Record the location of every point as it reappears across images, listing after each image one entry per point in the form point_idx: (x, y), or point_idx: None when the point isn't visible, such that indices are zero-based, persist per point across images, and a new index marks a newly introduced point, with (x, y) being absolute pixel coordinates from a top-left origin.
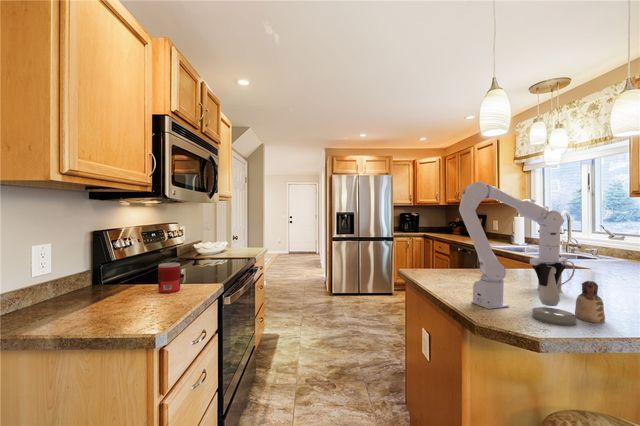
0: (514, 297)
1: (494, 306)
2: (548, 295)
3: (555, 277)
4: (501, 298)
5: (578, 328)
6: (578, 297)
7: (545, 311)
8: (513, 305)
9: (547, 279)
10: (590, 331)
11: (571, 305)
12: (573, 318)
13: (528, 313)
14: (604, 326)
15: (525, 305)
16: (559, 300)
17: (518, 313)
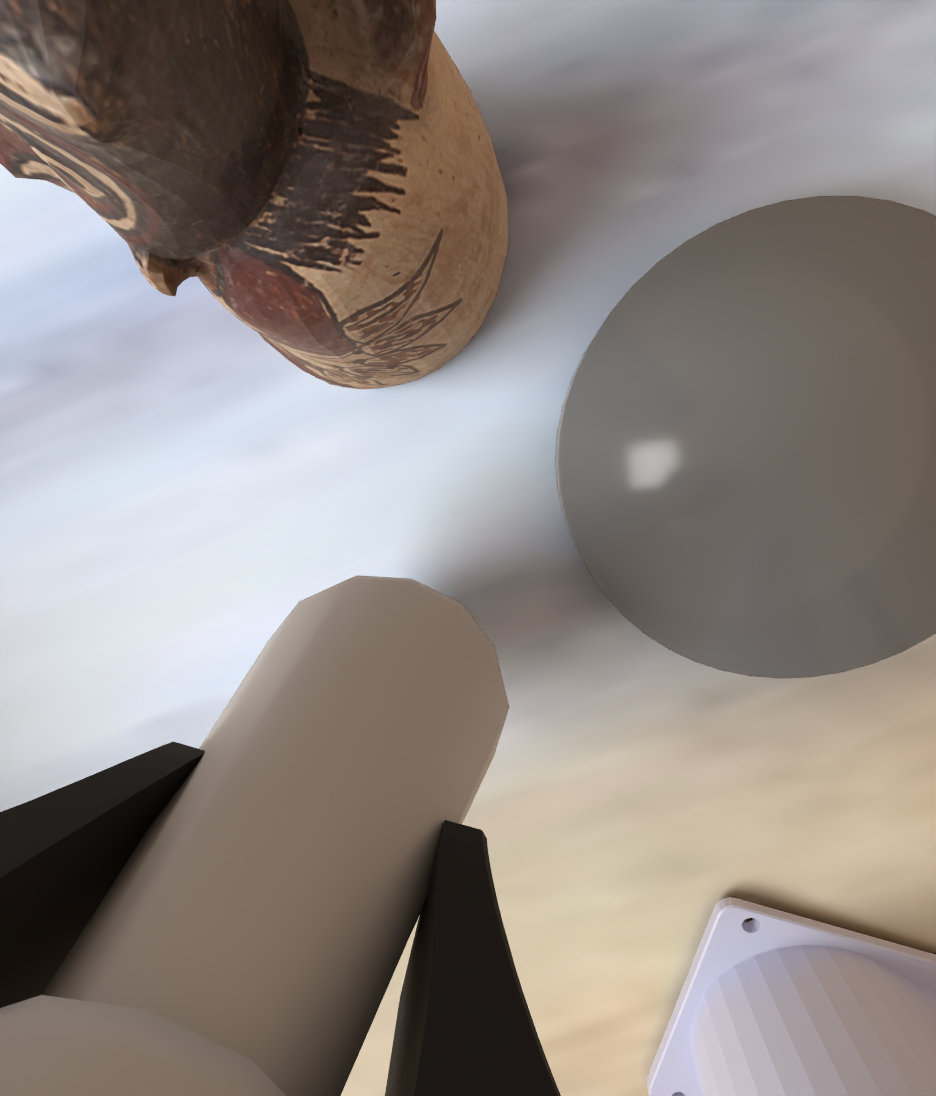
0: None
1: (929, 974)
2: (483, 692)
3: (60, 888)
4: (876, 1033)
5: (887, 146)
6: (382, 271)
7: (827, 535)
8: (611, 893)
9: (452, 933)
10: (889, 18)
11: (37, 576)
12: (856, 198)
13: (779, 689)
14: (526, 28)
15: (493, 827)
16: (360, 576)
17: (880, 745)
